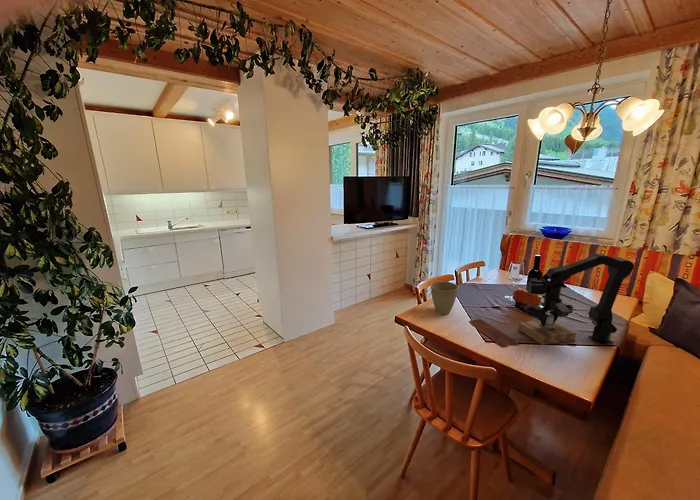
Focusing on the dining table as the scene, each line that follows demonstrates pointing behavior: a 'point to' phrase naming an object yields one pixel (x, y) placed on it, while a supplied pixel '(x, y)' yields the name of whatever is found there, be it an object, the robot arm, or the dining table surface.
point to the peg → (549, 322)
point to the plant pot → (443, 296)
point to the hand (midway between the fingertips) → (547, 325)
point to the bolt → (526, 307)
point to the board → (547, 332)
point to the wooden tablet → (493, 333)
